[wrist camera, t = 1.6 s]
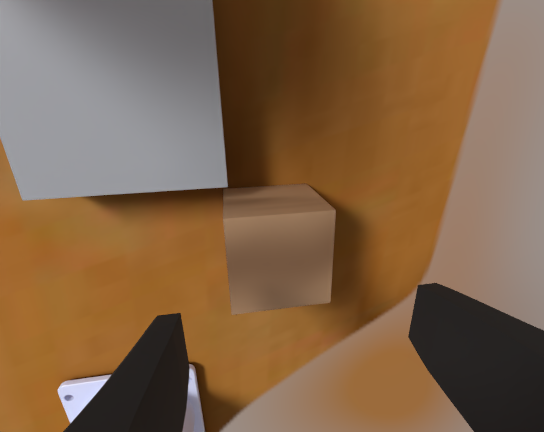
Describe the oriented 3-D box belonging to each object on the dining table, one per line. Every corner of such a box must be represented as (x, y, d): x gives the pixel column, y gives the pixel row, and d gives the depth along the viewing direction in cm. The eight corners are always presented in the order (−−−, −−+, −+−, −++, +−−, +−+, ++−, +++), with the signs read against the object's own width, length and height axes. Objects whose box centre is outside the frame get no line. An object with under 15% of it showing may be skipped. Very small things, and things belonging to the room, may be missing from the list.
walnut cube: (304, 255, 17) (330, 302, 13) (229, 263, 17) (231, 314, 13) (305, 183, 16) (335, 210, 12) (222, 188, 15) (223, 218, 11)
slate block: (226, 172, 15) (227, 187, 12) (62, 182, 14) (22, 200, 11) (211, -12, 12) (208, -47, 10) (3, -18, 11) (-69, -60, 8)
